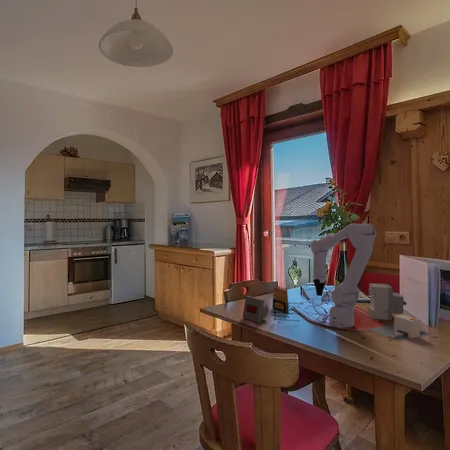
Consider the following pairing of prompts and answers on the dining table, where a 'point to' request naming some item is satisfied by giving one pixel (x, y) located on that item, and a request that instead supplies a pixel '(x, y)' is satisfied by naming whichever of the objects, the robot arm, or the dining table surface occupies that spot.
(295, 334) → the dining table surface
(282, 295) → the ammunition clip
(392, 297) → the circuit breaker
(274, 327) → the dining table surface
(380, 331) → the board
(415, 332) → the block
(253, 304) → the voltmeter
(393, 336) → the din rail
